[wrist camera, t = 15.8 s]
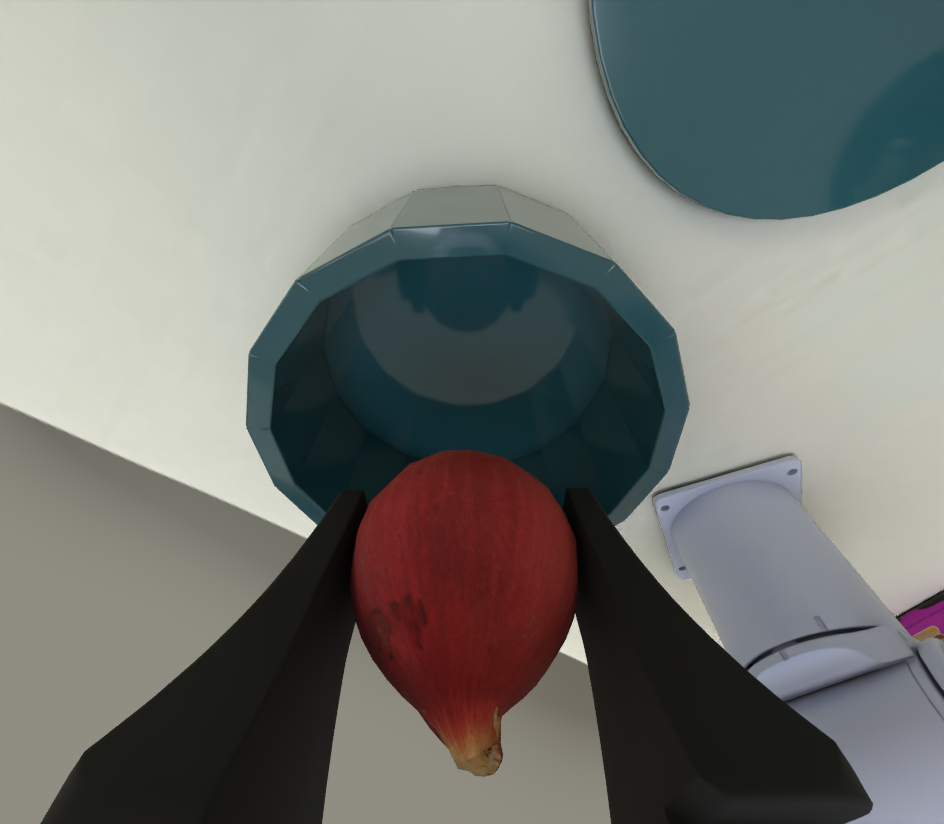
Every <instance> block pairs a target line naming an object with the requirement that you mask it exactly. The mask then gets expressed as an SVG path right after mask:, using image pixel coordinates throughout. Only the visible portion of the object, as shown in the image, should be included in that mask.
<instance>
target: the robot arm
mask: <svg viewBox="0 0 944 824" xmlns="http://www.w3.org/2000/svg"><path fill="white" fill-rule="evenodd" d="M801 477H802V463H801V460H800V459H799V458H798V457H796V456H792V455H791V456H786V457H783V458H779V459H776V460H773V461H769V462H766V463H762V464H759V465H756V466H752V467H749V468H745V469H742V470H739V471H735V472H732V473H728V474H725V475H722V476H718V477H715V478H711V479H708V480H705V481H701V482H698V483H694V484H691V485H688V486H684V487H681V488H677V489H674V490H671V491H667V492H664V493H660V494H658V495H656V496H655V497H654V499H653V503H654V506H655V509H656V512H657V515H658V518H659V522H660V525H661V528H662V531H663V534H664V538H665V541H666V544H667V547H668V550H669V554H670V557H671V560H672V563H673V566H674V570H675V573H676V575H677V577H678V578H679V579H687V578H692V580H693V582H694V585H695V587H696V589H697V591H698V593H699V595H700V597H701V599H702V601H703V603H704V606H705V608H706V610H707V612H708V614H709V616H710V618H711V620H712V622H713V624H714V627H715V629H716V631H717V633H718V635H719V637H720V639H721V641H722V643H723V645H724V647H725V650H726V651H725V650H724V649H723V648H722V647H721V646H720V645H719V644H718V643H717V642H715V641H714V640H713V639H712V638H711V637H710V636H709V635H708V634H707V633H706V632H705V631H704V630H703V629H702V628H701V627H700V626H699V625H698V624H697V623H696V622H695V621H694V620H693V619H692V618H691V617H690V616H689V615H688V614H687V613H686V612H685V611H684V610H683V609H682V608H681V607H680V605H679V604H678V603H677V602H676V601H675V600H674V599H673V598H672V597H671V596H670V595H669V594H668V592H667V591H666V590H665V589H664V588H663V587H662V586H661V585H660V583H659V582H658V581H657V580H656V579H655V577H654V576H653V575H652V574H651V573H650V572H649V570H648V569H647V568H646V567H645V566H644V564H643V563H642V562H641V561H640V559H639V558H638V557H637V556H636V554H635V553H634V552H633V550H632V549H631V548H630V546H629V545H628V544H627V542H626V541H625V540H624V538H623V537H622V536H621V534H620V533H619V532H618V530H617V529H616V528H615V526H614V525H613V523H612V522H611V520H610V519H609V518H608V516H607V515H606V513H605V512H604V510H603V509H602V507H601V506H600V504H599V503H598V501H597V500H596V498H595V496H594V495H593V493H592V492H591V490H590V489H589V488H588V487H581V488H566V493H565V499H564V504H563V509H562V510H563V511H564V513H565V514H566V517H567V519H568V521H569V524H570V526H571V529H572V531H573V533H574V536H575V538H576V550H577V572H578V599H577V605H576V610H575V614H576V617H577V621H578V625H579V629H580V633H581V636H582V640H583V644H584V649H585V653H586V658H587V663H588V669H589V675H590V680H591V686H592V692H593V698H594V704H595V710H596V717H597V723H598V730H599V736H600V743H601V750H602V757H603V764H604V771H605V778H606V786H607V793H608V801H609V809H610V817H611V824H944V641H942V640H940V639H937V638H927V639H925V640H923V641H919V640H917V639H916V638H914V637H912V636H911V635H910V634H909V633H908V632H907V630H906V629H905V628H904V627H903V626H902V624H901V623H900V622H899V621H898V620H897V619H896V617H895V616H894V615H893V614H892V613H891V611H890V610H889V609H888V608H887V607H886V605H885V604H884V603H883V602H882V601H881V600H880V598H879V597H878V596H877V595H876V594H875V592H874V591H873V590H872V589H871V588H870V586H869V585H868V584H867V583H866V582H865V581H864V579H863V578H862V577H861V576H860V575H859V573H858V572H857V571H856V570H855V569H854V567H853V566H852V565H851V564H850V563H849V562H848V560H847V559H846V558H845V557H844V556H843V554H842V553H841V552H840V551H839V550H838V548H837V547H836V546H835V545H834V544H833V543H832V541H831V540H830V539H829V538H828V537H827V535H826V534H825V533H824V532H823V531H822V529H821V528H820V527H819V526H818V525H817V524H816V522H815V521H814V520H813V519H812V518H811V516H810V515H809V514H808V513H807V512H806V510H805V509H804V508H803V507H802V506H801ZM367 508H368V506H367V502H366V497H365V493H364V490H342V491H341V492H340V493H339V495H338V496H337V498H336V499H335V501H334V502H333V504H332V505H331V507H330V508H329V510H328V511H327V513H326V514H325V515H324V517H323V518H322V520H321V521H320V522H319V524H318V525H317V527H316V528H315V529H314V531H313V532H312V533H311V535H310V536H309V537H308V539H307V540H306V541H305V543H304V544H303V545H302V547H301V548H300V549H299V551H298V552H297V553H296V555H295V556H294V557H293V559H292V560H291V561H290V562H289V563H288V564H287V566H286V567H285V568H284V569H283V570H282V572H281V573H280V574H279V575H278V576H277V578H276V579H275V580H274V581H273V582H272V584H271V585H270V586H269V587H268V588H267V590H266V591H265V592H264V593H263V594H262V595H261V596H260V597H259V598H258V599H257V600H256V602H255V603H254V604H253V605H252V606H251V607H250V608H249V609H248V610H247V611H246V612H245V613H244V614H243V616H242V617H240V618H239V619H238V621H237V622H236V623H235V624H233V626H231V628H230V629H228V630H227V631H226V632H225V633H224V634H223V635H222V636H221V637H220V638H219V639H218V640H217V641H216V642H215V643H214V644H213V645H212V646H211V647H210V648H209V649H208V650H207V651H206V652H205V653H203V654H202V655H201V656H200V657H199V658H198V659H197V660H196V661H195V662H194V663H193V664H191V665H190V666H189V667H188V668H187V669H185V670H184V671H183V672H182V673H181V674H180V675H179V676H177V677H176V678H175V679H174V680H173V681H172V682H171V683H169V684H168V685H167V686H166V687H165V688H164V689H163V690H161V691H160V692H159V693H158V694H157V695H156V696H154V697H153V698H152V699H151V700H149V701H148V702H147V703H146V704H145V705H144V706H142V707H141V708H140V709H138V710H137V711H136V712H135V713H133V714H132V715H131V716H129V717H128V718H127V719H126V720H124V721H123V722H122V723H121V724H119V725H118V726H117V727H115V728H114V729H113V730H112V731H110V732H109V733H108V734H107V735H105V736H104V737H103V738H102V739H100V740H99V741H98V742H96V743H95V744H94V745H92V746H91V747H90V748H88V749H87V750H86V751H85V752H84V753H83V755H82V756H81V758H80V760H79V761H78V762H77V764H76V766H75V767H74V768H73V770H72V771H71V773H70V774H69V776H68V778H67V780H66V781H65V783H64V784H63V786H62V788H61V789H60V791H59V793H58V795H57V797H56V798H55V800H54V802H53V803H52V805H51V807H50V808H49V810H48V812H47V813H46V815H45V817H44V819H43V821H42V822H41V824H322V819H323V811H324V802H325V794H326V786H327V779H328V771H329V764H330V756H331V749H332V743H333V736H334V729H335V723H336V716H337V710H338V703H339V697H340V691H341V686H342V679H343V674H344V668H345V662H346V658H347V653H348V649H349V644H350V641H351V637H352V633H353V629H354V625H355V622H356V620H355V617H354V614H353V607H352V601H351V594H350V576H351V564H352V556H353V551H354V546H355V541H356V537H357V532H358V528H359V526H360V524H361V522H362V519H363V517H364V515H365V513H366V510H367Z"/></svg>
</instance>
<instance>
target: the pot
mask: <svg viewBox="0 0 944 824" xmlns="http://www.w3.org/2000/svg"><path fill="white" fill-rule="evenodd" d="M689 405H690V403H689V398H688V393H687V388H686V382H685V377H684V372H683V367H682V362H681V356H680V351H679V346H678V341H677V336H676V333H675V330H674V328H673V327H672V326H671V325H670V324H669V323H668V322H667V320H666V319H665V318H664V317H663V316H662V315H661V314H660V313H659V311H658V310H657V309H656V308H655V307H654V306H653V305H652V303H651V302H650V301H649V300H648V299H647V298H646V297H645V295H644V294H643V293H642V292H641V291H640V290H639V289H638V287H637V286H636V285H635V284H634V283H633V282H632V281H631V280H630V278H629V277H628V276H627V275H626V274H625V273H624V272H623V270H622V269H621V268H620V267H619V266H618V265H617V264H616V263H615V261H614V260H613V259H612V258H611V257H610V256H609V255H608V254H607V253H606V252H605V251H604V250H603V249H602V248H601V247H600V246H599V245H598V244H597V243H596V242H595V241H594V240H593V239H592V238H591V237H590V236H589V235H588V233H587V232H586V231H585V230H584V229H583V228H582V227H581V226H580V225H579V224H578V223H577V222H576V221H575V220H574V219H573V218H572V217H571V216H569V215H568V214H567V213H564V212H562V211H559V210H557V209H554V208H552V207H550V206H547V205H545V204H543V203H541V202H539V201H537V200H535V199H533V198H530V197H527V196H523V195H520V194H518V193H515V192H513V191H510V190H508V189H505V188H503V187H501V186H496V185H487V186H452V187H445V188H435V189H418V190H416V191H413V192H411V193H409V194H408V195H406V196H404V197H402V198H400V199H399V200H397V201H395V202H393V203H391V204H389V205H387V206H385V207H383V208H381V209H380V210H378V211H377V212H375V213H373V214H372V215H370V216H368V217H366V218H364V219H363V220H361V221H359V222H357V223H356V224H354V225H352V226H351V227H350V228H348V229H347V230H346V231H345V232H344V233H343V234H342V235H341V236H340V237H339V238H338V239H337V240H336V241H335V242H334V243H333V244H332V245H331V246H330V247H329V248H328V249H327V250H326V251H325V252H324V253H323V254H322V255H321V256H320V257H319V258H318V259H317V260H316V261H315V262H314V263H313V264H312V265H311V266H310V267H309V268H308V269H307V270H305V271H304V272H303V273H302V274H301V275H300V276H299V277H298V278H297V279H296V280H295V282H294V283H293V285H292V286H291V288H290V289H289V291H288V293H287V294H286V296H285V297H284V299H283V300H282V302H281V303H280V305H279V306H278V308H277V309H276V311H275V313H274V314H273V316H272V317H271V319H270V320H269V322H268V323H267V325H266V326H265V328H264V329H263V331H262V332H261V334H260V336H259V337H258V339H257V340H256V342H255V343H254V345H253V346H252V348H251V349H250V353H249V359H248V386H247V413H246V426H247V430H248V432H249V434H250V436H251V438H252V440H253V442H254V444H255V446H256V448H257V451H258V453H259V455H260V457H261V459H262V461H263V463H264V465H265V467H266V469H267V471H268V473H269V475H270V477H271V479H272V482H273V484H274V486H275V487H277V489H278V490H279V491H281V492H282V493H283V494H284V495H285V496H286V497H287V498H288V499H289V500H290V501H292V502H293V503H294V504H295V505H296V506H297V507H298V508H299V509H300V510H301V511H303V512H304V513H305V514H306V515H307V516H308V517H309V518H310V519H311V520H312V521H314V522H315V523H316V524H317V525H318V524H319V522H320V521H321V520H322V518H323V517H324V515H325V514H326V513H327V511H328V510H329V508H330V507H331V505H332V504H333V502H334V501H335V499H336V498H337V496H338V495H339V493H340V492H341V491H342V490H364V493H365V497H366V502H367V506H369V504H370V502H371V501H372V500H373V499H374V498H375V497H376V496H377V495H378V494H379V493H380V492H381V491H382V490H383V489H384V488H385V487H386V486H387V485H388V484H389V483H390V482H391V481H392V480H393V479H394V478H395V477H396V476H398V475H399V474H400V473H401V472H402V471H403V470H404V469H405V468H406V467H407V466H408V465H409V464H411V463H414V462H416V461H419V460H421V459H424V458H426V457H428V456H431V455H433V454H436V453H438V452H443V451H447V450H475V451H480V452H484V453H488V454H492V455H496V456H500V457H504V458H507V459H508V460H510V461H511V462H513V463H514V464H516V465H517V466H519V467H520V468H522V469H523V470H525V471H526V472H528V473H529V474H531V475H532V476H534V477H535V478H536V479H538V480H539V481H540V482H541V483H543V484H544V485H545V486H546V487H548V489H549V490H550V492H551V493H552V495H553V496H554V498H555V499H556V501H557V502H558V504H559V505H560V507H561V508H562V509H563V504H564V499H565V493H566V488H581V487H588V488H589V489H590V490H591V492H592V493H593V495H594V496H595V498H596V500H597V501H598V503H599V504H600V506H601V507H602V509H603V510H604V512H605V513H606V515H607V516H608V518H609V519H610V520H611V522H612V523H613V525H614V526H616V525H618V524H619V523H621V522H623V521H625V519H627V518H628V516H629V515H630V514H631V513H632V512H633V511H634V510H635V509H636V507H637V506H638V505H639V504H640V503H641V502H642V501H643V500H644V498H645V497H646V496H647V495H648V494H649V493H650V492H651V491H652V489H653V488H654V487H655V486H656V485H657V484H658V483H659V482H660V480H661V479H662V478H663V477H664V476H665V475H666V474H667V473H668V470H669V469H670V466H671V463H672V460H673V457H674V454H675V451H676V448H677V445H678V442H679V439H680V436H681V433H682V430H683V426H684V423H685V420H686V417H687V414H688V411H689Z"/></svg>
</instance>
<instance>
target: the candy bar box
mask: <svg viewBox="0 0 944 824" xmlns="http://www.w3.org/2000/svg"><path fill="white" fill-rule="evenodd" d="M897 620H898V621H899V622H900V623H901V624H902V626H903V627H904V628H905V629H906V630H907V632H908V633H909V634H910V635H911V636H912V637H914V638H916V639H917V640H919V641H923V640H925V639H927V638H937V639H940V640H942V641H944V592H942V593H941V594H939V595H937V596H935V597H934V598H932V599H930V600H928V601H927V602H925V603H923V604H921V605H920V606H918V607H916V608H915V609H913V610H911V611H909V612H908V613H906V614H904V615H902V616H901V617H899V618H897Z"/></svg>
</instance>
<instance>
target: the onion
mask: <svg viewBox="0 0 944 824" xmlns="http://www.w3.org/2000/svg"><path fill="white" fill-rule="evenodd" d="M350 594H351V601H352V607H353V614H354V617H355V620H356V623H357V626H358V629H359V632H360V635H361V638H362V640H363V642H364V644H365V646H366V648H367V650H368V652H369V654H370V655H371V657H372V659H373V661H374V662H375V664H376V665H377V666H378V668H379V669H380V670H381V672H382V673H383V674H384V676H385V677H386V679H387V680H388V681H389V682H390V683H391V684H392V686H393V687H394V688H395V689H396V690H397V691H398V692H399V693H400V694H401V696H402V697H403V698H405V699H406V700H407V701H408V702H409V703H410V704H411V705H412V706H413V707H414V708H415V709H416V710H418V712H419V713H420V714H421V716H422V717H423V719H424V720H425V722H426V723H427V725H428V726H429V728H430V729H431V730H432V731H433V732H434V733H435V735H436V736H437V737H438V738H439V739H440V740H441V741H442V743H443V744H444V745H445V746H446V747H447V748H448V749H449V751H450V753H451V755H452V757H453V759H454V762H455V764H456V766H457V768H458V769H461V770H466V771H469V772H471V773H472V774H473V775H475V776H484V777H485V776H489V775H492V774H494V773H495V772H496V771H497V769H498V768H499V766H500V764H501V762H502V758H503V752H502V748H501V743H500V742H501V718H502V716H503V715H504V714H505V713H506V712H507V711H508V710H509V709H511V707H513V706H514V705H515V704H517V703H518V702H519V701H520V700H522V699H523V698H524V697H525V696H526V695H527V694H528V693H529V692H530V691H531V690H532V689H533V688H534V687H535V686H536V685H537V683H538V682H539V681H540V679H541V678H542V677H543V675H544V674H545V673H546V671H547V670H548V668H549V666H550V665H551V663H552V661H553V660H554V659H555V657H556V655H557V653H558V652H559V650H560V648H561V647H562V645H563V643H564V641H565V640H566V638H567V635H568V632H569V630H570V627H571V625H572V622H573V619H574V615H575V610H576V605H577V599H578V572H577V550H576V538H575V536H574V533H573V531H572V529H571V526H570V524H569V521H568V519H567V517H566V514H565V513H564V511H563V510H562V508H561V507H560V505H559V504H558V502H557V501H556V499H555V498H554V496H553V495H552V493H551V492H550V490H549V489H548V487H546V486H545V485H544V484H543V483H541V482H540V481H539V480H538V479H536V478H535V477H534V476H532V475H531V474H529V473H528V472H526V471H525V470H523V469H522V468H520V467H519V466H517V465H516V464H514V463H513V462H511V461H510V460H508V459H507V458H504V457H500V456H496V455H492V454H488V453H484V452H480V451H475V450H447V451H443V452H438V453H436V454H433V455H431V456H428V457H426V458H424V459H421V460H419V461H416V462H414V463H411V464H409V465H408V466H407V467H406V468H405V469H404V470H403V471H402V472H401V473H400V474H399V475H398V476H396V477H395V478H394V479H393V480H392V481H391V482H390V483H389V484H388V485H387V486H386V487H385V488H384V489H383V490H382V491H381V492H380V493H379V494H378V495H377V496H376V497H375V498H374V499H373V500H372V501H371V502H370V504H369V506H368V508H367V510H366V513H365V515H364V517H363V519H362V522H361V524H360V526H359V528H358V532H357V537H356V541H355V546H354V551H353V556H352V564H351V576H350Z"/></svg>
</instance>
